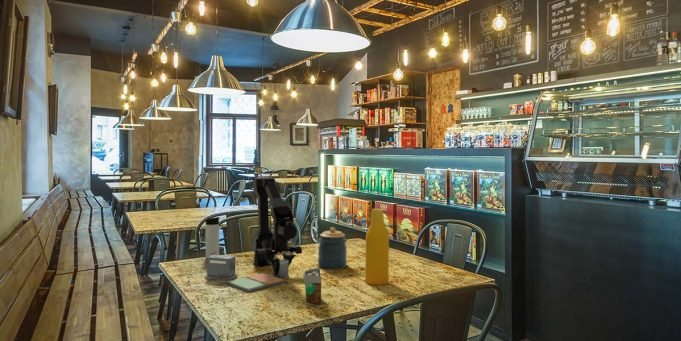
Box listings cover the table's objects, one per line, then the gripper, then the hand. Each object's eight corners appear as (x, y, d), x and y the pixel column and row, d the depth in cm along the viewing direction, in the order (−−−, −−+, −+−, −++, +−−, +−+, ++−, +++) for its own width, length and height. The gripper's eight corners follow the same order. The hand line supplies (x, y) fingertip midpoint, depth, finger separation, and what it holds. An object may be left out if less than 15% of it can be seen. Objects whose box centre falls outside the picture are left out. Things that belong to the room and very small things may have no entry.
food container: (302, 295, 167) (302, 267, 166) (319, 295, 167) (319, 267, 167) (302, 307, 155) (302, 277, 154) (321, 306, 155) (321, 277, 155)
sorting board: (262, 275, 194) (262, 272, 194) (287, 282, 183) (287, 280, 183) (224, 283, 181) (224, 281, 181) (248, 292, 170) (248, 289, 170)
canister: (314, 268, 206) (314, 228, 205) (322, 261, 218) (322, 224, 218) (343, 270, 203) (343, 230, 202) (349, 263, 215) (349, 225, 215)
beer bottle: (361, 280, 187) (362, 208, 186) (382, 278, 191) (383, 207, 189) (370, 286, 179) (371, 211, 178) (392, 284, 182) (393, 210, 181)
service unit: (213, 274, 195) (213, 254, 194) (237, 276, 192) (237, 255, 192) (204, 278, 188) (204, 257, 188) (229, 280, 185) (229, 259, 185)
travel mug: (216, 260, 219) (216, 218, 218) (203, 259, 221) (203, 217, 220) (222, 257, 225) (221, 216, 225) (209, 256, 227) (209, 215, 226)
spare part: (281, 274, 195) (281, 258, 195) (288, 276, 192) (288, 259, 192) (272, 276, 192) (272, 259, 191) (279, 278, 189) (279, 261, 188)
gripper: (286, 230, 203) (285, 265, 204) (250, 235, 190) (250, 273, 191) (302, 233, 196) (302, 270, 196) (267, 239, 182) (266, 278, 183)
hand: (280, 272), depth 192 cm, fingers closed on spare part, 4 cm apart
